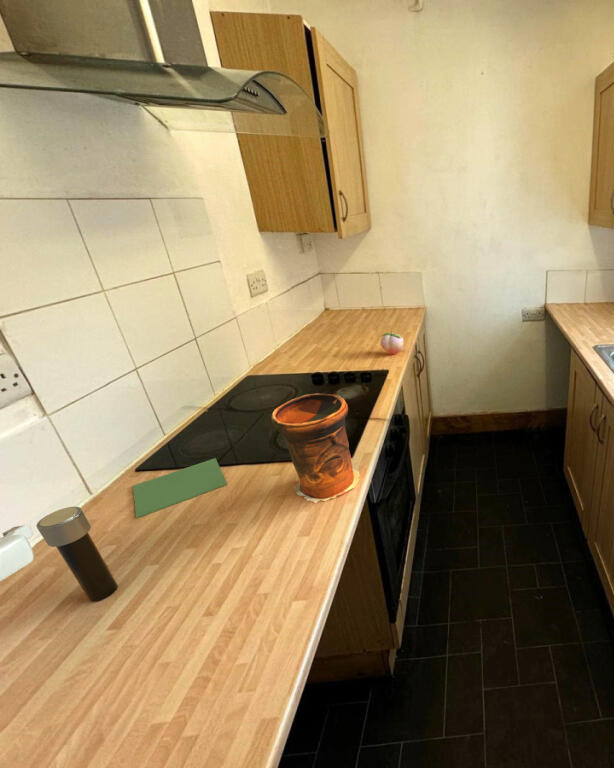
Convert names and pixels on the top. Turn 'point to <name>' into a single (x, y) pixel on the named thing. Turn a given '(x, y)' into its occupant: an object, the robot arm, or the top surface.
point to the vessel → (317, 445)
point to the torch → (78, 551)
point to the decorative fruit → (392, 342)
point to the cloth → (177, 487)
